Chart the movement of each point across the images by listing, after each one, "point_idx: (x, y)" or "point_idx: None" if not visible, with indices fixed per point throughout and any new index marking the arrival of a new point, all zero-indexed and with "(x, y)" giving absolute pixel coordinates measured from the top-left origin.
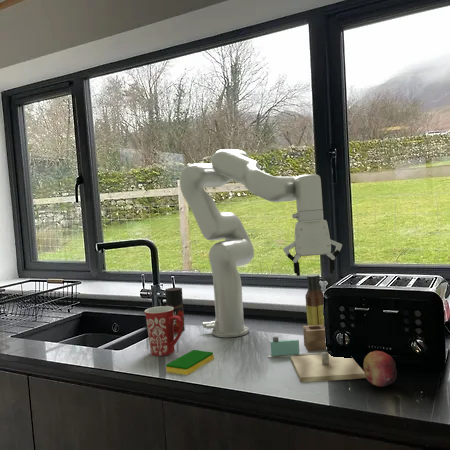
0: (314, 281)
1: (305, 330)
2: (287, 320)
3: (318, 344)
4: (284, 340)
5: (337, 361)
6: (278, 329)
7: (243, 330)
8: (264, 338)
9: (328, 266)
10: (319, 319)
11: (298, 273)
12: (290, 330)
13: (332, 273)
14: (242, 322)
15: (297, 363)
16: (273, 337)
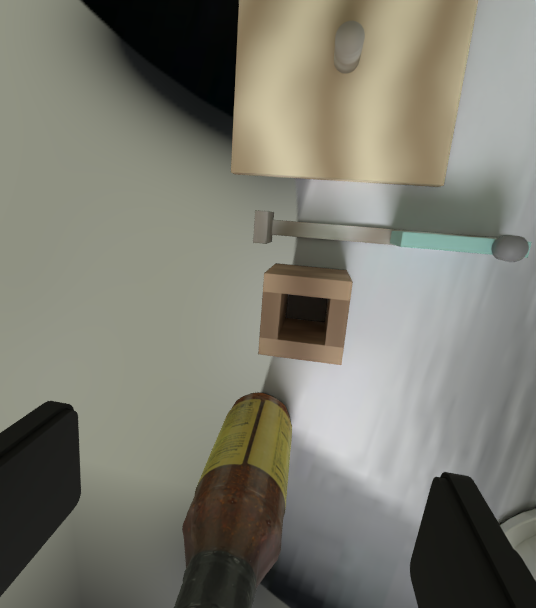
0: (209, 602)
1: (348, 311)
2: (309, 605)
3: (307, 269)
4: (462, 249)
5: (295, 83)
6: (369, 529)
7: (516, 541)
8: (449, 456)
9: (30, 538)
10: (249, 425)
11: (468, 495)
12: (332, 504)
13: (58, 404)
14: (533, 574)
15: (446, 94)
16: (525, 247)
